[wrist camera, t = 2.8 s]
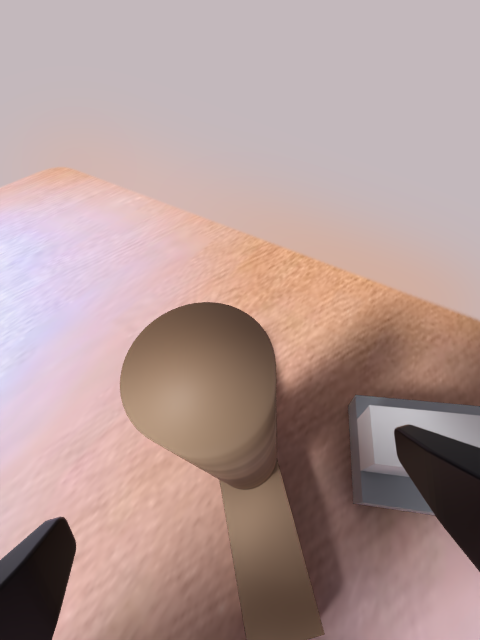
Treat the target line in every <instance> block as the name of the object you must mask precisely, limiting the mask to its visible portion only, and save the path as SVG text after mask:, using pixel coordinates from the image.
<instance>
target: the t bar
mask: <svg viewBox="0 0 480 640" xmlns="http://www.w3.org/2000/svg"><path fill="white" fill-rule="evenodd" d="M120 393H121V399H122V403H123V406H124V409H125V411H126V414H127V416H128V417H129V419H130V421H131V422H132V424H133V425H134V426H135V427H136V428H137V430H138V431H140V432H141V433H142V434H143V435H144V436H145V437H147V438H148V439H150V440H152V441H153V442H155V443H157V444H158V445H160V446H162V447H164V448H165V449H167V450H169V451H171V452H172V453H174V454H176V455H178V456H179V457H181V458H183V459H185V460H186V461H188V462H190V463H192V464H193V465H195V466H197V467H199V468H200V469H202V470H204V471H205V472H207V473H209V474H211V475H212V476H214V477H216V478H218V479H219V480H220V486H221V492H222V498H223V504H224V510H225V516H226V522H227V528H228V533H229V539H230V545H231V551H232V557H233V563H234V569H235V575H236V581H237V587H238V593H239V599H240V605H241V611H242V616H243V622H244V628H245V634H246V640H307V639H311V638H314V637H318V636H321V635H325V634H324V630H323V627H322V623H321V619H320V616H319V612H318V608H317V605H316V601H315V597H314V594H313V590H312V586H311V583H310V579H309V575H308V571H307V568H306V564H305V560H304V557H303V553H302V549H301V546H300V542H299V538H298V535H297V531H296V527H295V524H294V520H293V516H292V513H291V509H290V505H289V502H288V498H287V494H286V491H285V487H284V483H283V480H282V476H281V472H280V468H279V465H278V461H277V438H276V362H275V354H274V350H273V347H272V344H271V342H270V339H269V337H268V336H267V334H266V332H265V331H264V329H263V328H262V327H261V326H260V324H259V323H258V322H257V321H256V320H255V319H253V318H252V317H251V316H249V315H248V314H247V313H245V312H243V311H241V310H239V309H237V308H235V307H232V306H229V305H225V304H221V303H212V302H203V303H194V304H188V305H185V306H181V307H178V308H176V309H173V310H171V311H169V312H167V313H165V314H163V315H161V316H160V317H159V318H157V319H156V320H154V321H153V322H152V323H151V324H149V325H148V326H147V327H146V328H145V329H144V330H143V331H142V332H141V333H140V334H139V336H138V337H137V338H136V339H135V341H134V342H133V344H132V346H131V347H130V349H129V351H128V353H127V355H126V357H125V360H124V363H123V366H122V371H121V377H120Z"/></svg>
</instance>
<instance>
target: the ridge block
mask: <svg viewBox="0 0 480 640" xmlns="http://www.w3.org/2000/svg"><path fill="white" fill-rule="evenodd" d="M348 413H349V432H350V450H351V468H352V487H353V504H360V505H367V506H374V507H381V508H387V509H394V510H401V511H408V512H415V513H422V514H429V515H435V514H434V513H433V511H432V510H431V509H430V507H429V506H428V504H427V503H426V501H425V499H424V498H423V496H422V495H421V493H420V492H419V490H418V489H417V487H416V486H415V484H414V483H413V481H412V480H411V478H410V477H409V475H408V474H407V472H406V471H405V469H404V468H403V466H402V465H401V463H400V461H399V459H398V456H397V452H396V445H395V437H394V429H395V428H396V427H400V426H403V425H407V424H410V425H414V426H417V427H420V428H423V429H426V430H428V431H431V432H434V433H437V434H440V435H443V436H446V437H449V438H452V439H455V440H458V441H461V442H464V443H467V444H470V445H473V446H476V447H479V448H480V406H471V405H460V404H449V403H438V402H427V401H416V400H405V399H394V398H384V397H373V396H362V395H355V396H354V398H353V399H352V401H351V402H350V404H349V405H348Z"/></svg>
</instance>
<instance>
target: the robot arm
mask: <svg viewBox="0 0 480 640" xmlns="http://www.w3.org/2000/svg"><path fill="white" fill-rule="evenodd" d="M394 437H395V445H396V452H397V456H398V459H399V461H400V463H401V465H402V466H403V468H404V469H405V471H406V472H407V474H408V475H409V477H410V478H411V480H412V481H413V483H414V484H415V486H416V487H417V489H418V490H419V492H420V493H421V495H422V496H423V498H424V499H425V501H426V503H427V504H428V506H429V507H430V509H431V510H432V511H433V513H434V514H435V516H436V517H437V519H438V520H439V521H440V523H441V524H442V525H443V526H444V528H445V529H446V530H447V532H448V533H449V534H450V535H451V537H452V538H453V539H454V540H455V542H456V543H457V544H458V545H459V547H460V548H461V549H462V550H463V552H464V553H465V554H466V555H467V557H468V558H469V559H470V560H471V562H472V563H473V564H474V565H475V567H476V568H477V569H478V570H479V572H480V448H479V447H476V446H473V445H470V444H467V443H464V442H461V441H458V440H455V439H452V438H449V437H446V436H443V435H440V434H437V433H434V432H431V431H428V430H426V429H423V428H420V427H417V426H414V425H410V424H407V425H403V426H400V427H396V428H395V429H394ZM75 552H76V541H75V538H74V536H73V534H72V531H71V529H70V527H69V525H68V522H67V520H66V519H65V518H64V517H58V518H54V519H50V520H47V521H45V522H44V523H43V524H42V525H40V526H39V527H38V528H37V529H36V530H35V531H34V532H32V533H31V534H30V535H29V536H28V537H27V538H25V539H24V540H23V541H22V542H21V543H20V544H18V545H17V546H16V547H15V548H14V549H13V550H12V551H10V552H9V553H8V554H7V555H6V556H5V557H3V558H2V559H1V560H0V640H52V637H53V634H54V631H55V628H56V625H57V621H58V618H59V614H60V610H61V607H62V603H63V599H64V595H65V591H66V587H67V583H68V579H69V576H70V572H71V568H72V564H73V560H74V556H75Z"/></svg>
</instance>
